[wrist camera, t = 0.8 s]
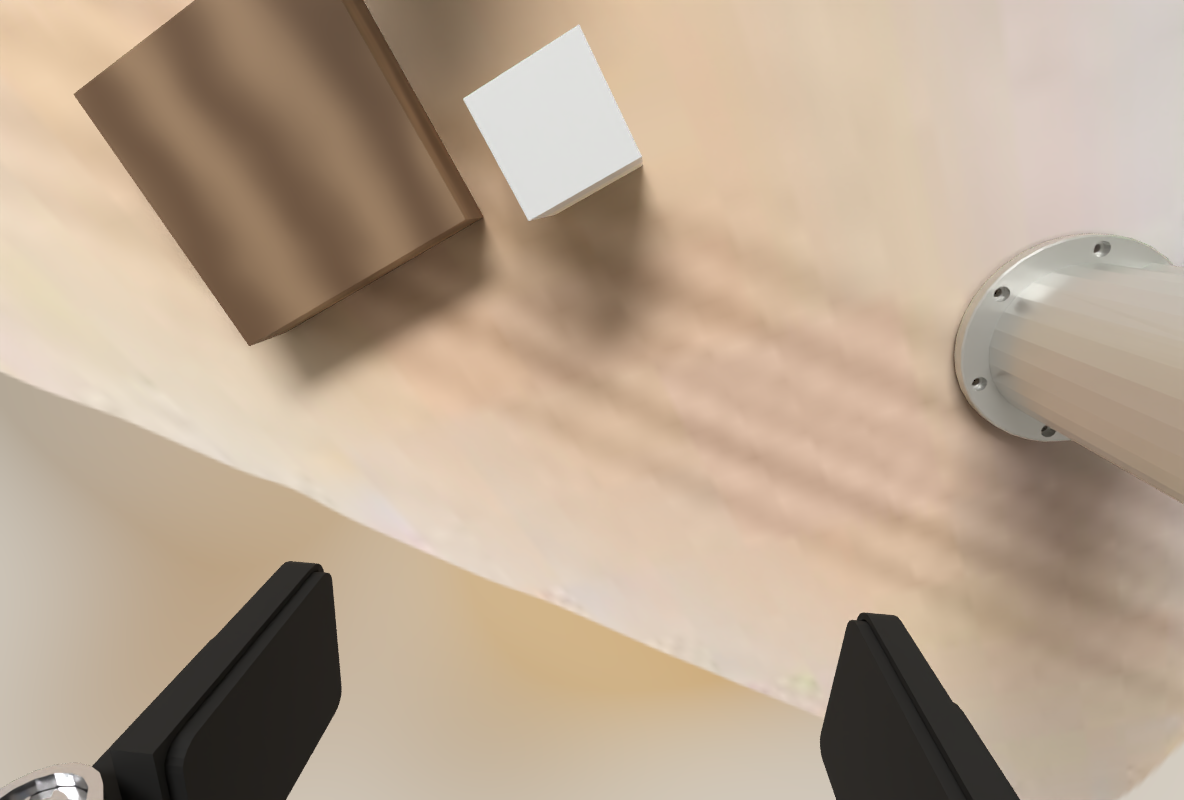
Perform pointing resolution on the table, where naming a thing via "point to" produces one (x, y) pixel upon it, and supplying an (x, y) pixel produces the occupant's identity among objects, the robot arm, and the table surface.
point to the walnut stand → (280, 153)
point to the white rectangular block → (555, 127)
